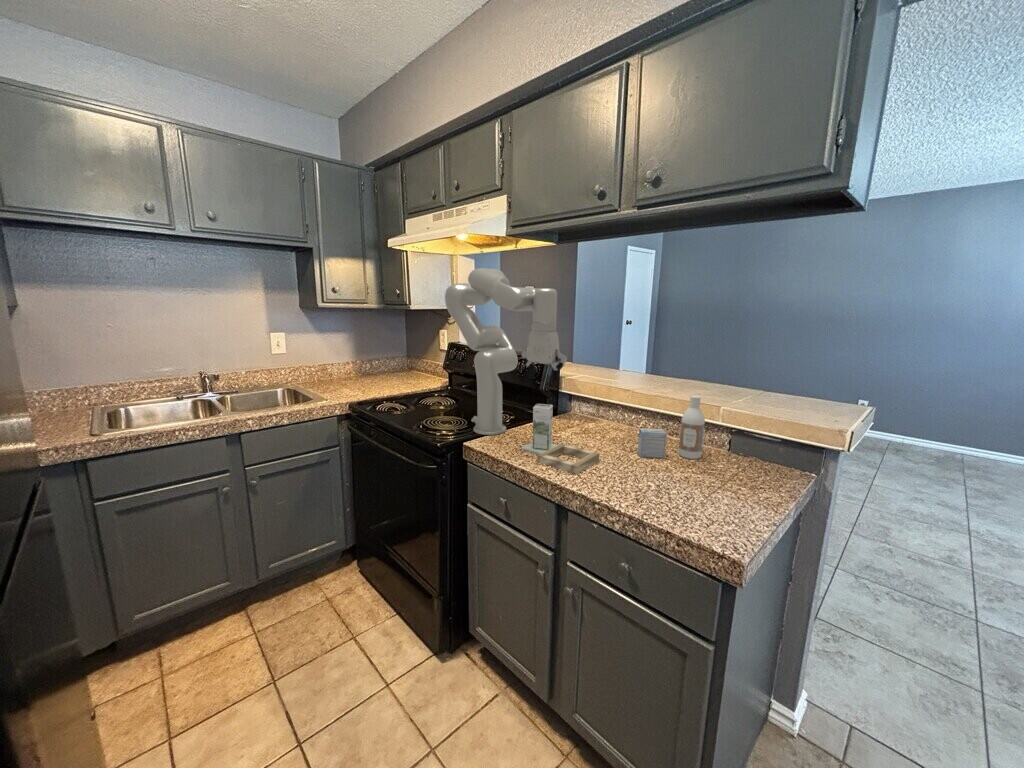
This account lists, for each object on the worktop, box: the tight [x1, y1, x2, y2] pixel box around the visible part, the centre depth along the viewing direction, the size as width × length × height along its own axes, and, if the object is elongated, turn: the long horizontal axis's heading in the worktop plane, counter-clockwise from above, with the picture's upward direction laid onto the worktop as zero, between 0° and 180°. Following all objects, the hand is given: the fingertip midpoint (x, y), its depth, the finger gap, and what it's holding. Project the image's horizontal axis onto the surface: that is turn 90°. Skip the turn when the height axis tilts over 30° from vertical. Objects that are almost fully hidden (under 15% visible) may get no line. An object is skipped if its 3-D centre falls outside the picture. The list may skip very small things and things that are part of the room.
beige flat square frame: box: [537, 443, 600, 475], centre depth 131 cm, size 14×14×2 cm
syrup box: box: [532, 403, 554, 450], centre depth 141 cm, size 6×6×14 cm
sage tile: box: [520, 441, 559, 455], centre depth 142 cm, size 10×10×1 cm
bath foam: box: [678, 395, 706, 460], centre depth 136 cm, size 7×7×20 cm
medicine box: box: [637, 427, 668, 459], centre depth 137 cm, size 8×4×9 cm, turn 84°
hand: (542, 380), depth 138 cm, fingers open, 9 cm apart
